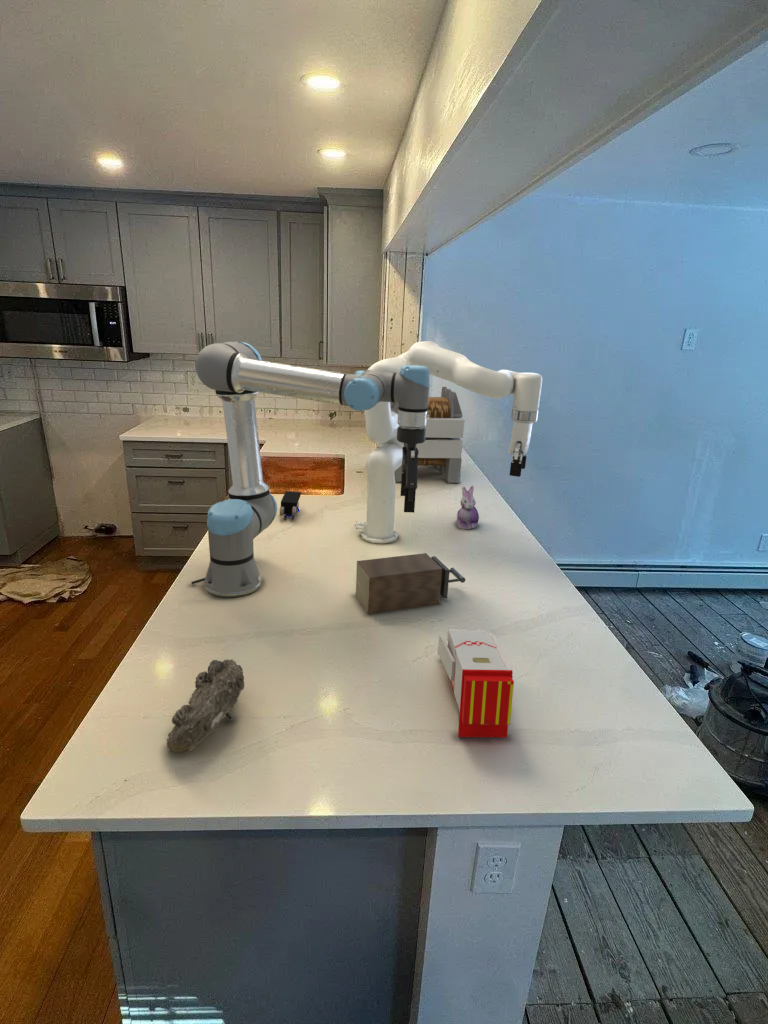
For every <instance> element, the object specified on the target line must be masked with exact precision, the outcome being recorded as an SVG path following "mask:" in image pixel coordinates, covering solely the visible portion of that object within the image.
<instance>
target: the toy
mask: <svg viewBox="0 0 768 1024" xmlns="http://www.w3.org/2000/svg"><path fill="white" fill-rule="evenodd" d="M446 640H447V643H446V641H445V639H444V636H443V635H442V634H439V637H438V646H437V656H438V657H439V659H440V661H441V663H442V666H443V668H444V670H445V672H446V674H447V677H448V679H449V681H450V684H451V687H452V690H453V693H454V697H455V701H456V705H457V708H458V711H459V714H458V715H459V716H458V730H457V731H458V732H457V737H458V738H508V731H509V726H510V725H511V717H512V707H513V697H514V696H513V695H514V684H515V680H514V679H513V673H514V671H513V670H512V669H508V667H507V665H506V662H505V661H504V659H503V658H502V655H501V653H500V651H499V649H498V647H497V643H496V639H495V637H494V635H493V634H491V632H490V631H489V629H467V628H466V629H465V628H463V629H461V628H460V629H459V628H448V630H447V639H446Z"/></svg>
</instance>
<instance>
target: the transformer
mask: <svg viewBox="0 0 768 1024" xmlns="http://www.w3.org/2000/svg"><path fill="white" fill-rule="evenodd" d="M440 393H441V394H440V396H428V408H427V414H429V418H426V420H427V421H426V426H425V427H424V428H425V429H426V438H425V442H424V443H421V444H419V443H418V444H416V447H417V450H418V463H417V467H436V468H437V470H438V469H439V473H440V474H441V475H443V478H444V479H445V481H446V482H447V483H449V484H455V483H456V484H459V483H461V472H462V461H463V460H462V453H463V442H464V441H463V440H462V439H463V438H464V431H465V430H464V429H465V419H464V418H463V411H462V408H461V405H460V402H459V398H458V395H457V392H455V391H453V390H452V389H451V388H447V386H442V387H441V392H440ZM390 407H391V411H393V412H395V413H396V414H398V408H399V403H398V402H390ZM401 466H402V465H401ZM401 466H400V467H399V468H398V469H397V470H395V473H394V475H395V483H401V477H402V473H404V472H402V467H401Z"/></svg>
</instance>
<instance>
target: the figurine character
mask: <svg viewBox="0 0 768 1024" xmlns="http://www.w3.org/2000/svg"><path fill="white" fill-rule="evenodd" d="M301 495H302V491H290V490H289V491H288V490H285V492H284V494H283V496H282V498H281V501H280V507H279V516H280V517H283V520H284V521H286V520H287V518H291V519H290V520H291V521H293V520H295V519H294V518H295V517H297V515H298V513H299V512H300V511H301V510H300V502H299V500H300V499H301Z"/></svg>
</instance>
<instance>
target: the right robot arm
mask: <svg viewBox="0 0 768 1024" xmlns="http://www.w3.org/2000/svg"><path fill="white" fill-rule="evenodd" d="M403 365H420V366H425V367H427V368H428V369H429V372H430V373H429V376H430V375H431V376H434V377H436V378H439V379H442V380H445V381H448V382H451V383H454V384H455V385H456V386H459V387H461V388H463V389H465V390H468V391H470V392H473V393H475V394H478V395H481V396H484V397H487V398H490V399H493V400H494V399H495V400H500V399H504V398H506V397H507V396H513V399H512V408H511V415H510V421H511V422H513V424H512V428H511V434H510V442H509V448H508V454H509V456H510V455H512V457H511V461H510V468H509V476H511V477H518V478H519V477H521V475H522V470H525V469H526V464H527V453H528V452H529V448H530V444H531V439H532V430H533V425H534V423H535V424H536V423H537V422H538V417H539V416H538V415H539V408H540V400H541V395H542V385H543V376H542V375H541V374H540V373H537V372H518V371H513V370H510V369H500V370H494V369H490V368H488V367H485V366H482V365H479V364H477V363H474V362H473V361H471V360H470V359H468V357H467V356H465V355H464V354H462V353H459V352H457V351H453V350H450V349H447V348H444V347H441V346H440V345H438V343H436V342H434V341H433V340H422V341H417V342H415V343H413V344H412V345H411V346H410V348H409V349H408V350H407V351H405V352H403V353H401V354H399V355H397V356H395V357H394V356H393V357H387V358H383V359H381V360H378V361H377V362H375V363H373V364H372V365H371V366H369V367H368V368H367V370H370V371H379V372H391V373H397V372H400V370H401V367H402V366H403ZM364 420H365V433H366V436H367V438H368V439H369V441H370V442H371V443H373V444H378V447H377V448H375V449H373V450H372V451H371V452H370V453H369V455H368V456H367V458H366V462H365V471H366V480H367V483H366V519H365V520H366V521H364V522H362V521H355V522H354V527H355V529H356V530H361V534H360V535H361V538H362V539H363V540H364V541H366V542H368V543H373V544H389V543H393V542H395V541H397V540H398V537H399V534H398V532H397V531H396V530H395V528H394V527H395V510H396V509H395V508H396V507H395V506H396V491H397V490H396V488H397V487H396V482H395V475H394V473H395V470H397V469H398V468H399V467H400V466H401V465H402V458H403V453H402V448H403V447H404V443H401V442H399V441H398V440H397V428H398V427H399V425H398V424H397V421H398V414H396V413H395V412H393V411H391V407H390V402H381V401H380V402H378V403H377V404H376V405H375V406H374V407H372V408H371V409H369V410H365V411H364Z"/></svg>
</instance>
